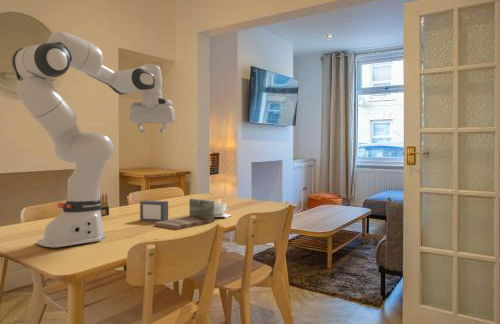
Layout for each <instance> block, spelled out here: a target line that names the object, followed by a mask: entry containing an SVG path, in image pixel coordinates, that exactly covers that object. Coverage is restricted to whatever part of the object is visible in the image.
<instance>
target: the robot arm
mask: <svg viewBox="0 0 500 324" xmlns="http://www.w3.org/2000/svg"><path fill="white" fill-rule="evenodd" d="M103 63H104V55H103V52H102V50H101V48H99V47H98V46H97V45H96V44H94V43H92V42H90V41H88V40H86V39H84V38H83V37H79V36H77V35H75V34H72V33H68V32H66V31H61V30H58V31H55V32H52V33H51V35H50V36H49V37H48V39H47V42H44V43H41V44H40V43H39V44H30V45H28V46H24V47H21V48H19V49H18V50H16V51H15V52H14V53H13V55H12V58H11V65H12V68H13V70H14V73H15V75H16V78H17V80H18V81H19V83H18V84H17V85H16V89H15V92H16V95H17V96H18V98H19V99H20V101H21V103H22V104H23V106H24V107H25V108H26V110H27V111H28V112H29V113H30V115H31V116H32V117H33V118H34V119H35V120H36V121H37V122H38V124H39V125H40V126H41V127H42V128H43V129H44V130H45V131H46V132H47V133H48V135H49V136H50V138H51V141H52V142H53V144H54V147H53V148H54V153H55V155H56V156H57V158H58V159H60V160H62V161H65V162H68V163H71V164H75V167H74V170H73V172H72V173H71V175H70V176H69V177H68V179H67V200H66V201H65V202H58V203H57V204H56V206H57V208H58V209H62V212H61V213H60V214H58V215H57V216H56V217H54V218H53V219H52V220H51V221H50V222H48V223H47V224H46V226H45V229H44V233H43V234H44V236H43V237H42V238H39V239H37V240H36V244H37V245H39V246H42V247H47V248H61V247H62V248H63V247H68V246H75V245H80V244H87V243H88V244H89V243H95V242H100V241H102V239H103V238H104V237H106V234H105V230H104V228H103V227H104V226H103V221H102V217H101V209H102V205H101V199H102V198H101V199H100V193H101V181H102V180H101V179H102V176H103V175H102V174H103V171H104V167H105V166H106V163H107V162H108V161H109V160H110V159H111V157H112V155H113V154H114V149H115V148H114V143H113V141H112V139H111V138H110V137H109V136H107V135H105V134H101V133H96V132H90V133H89V132H88V133H84V132H82V131H81V130H80V129H79V127H78V124H77V120H78V117H77V114H76V113H75V112H74V110H73V109H72V108H71V107H70V106H69V105H68V103H67V102H66V101H65V99H64V98H63V97H62V96H61V95H60V93H58V91H57V90H56V89H55V87H54V84H53V82H52V78H59V77H61V76H63V75H64V74H66V73H67V71H68V70H69V68H72V69H74V70H77V71H80V72H83V73H85V74H86V75H87V76H89V77H91V78H93V79H95V80H97V81H99V82H101V83H103V84H105V85H107V86H108V87H109V88H111V90H113V91H114V92H115V93H116V94H118V95H127V94H132V93H136V92H137V93H138V92H141V101H140V102H139V101H138V102H136V101H135V102H134V101H133V103H131V104H130V106H129V109H130V110H129V121H130V123H131V124H137V127H138V128H139V133H140V134H145V132H146V130H145V128H143V124H154V123H155V124H157V123H159V124H161V123H162V128H159V133H160V134H165V132H166V128H167V127H168V123H174V122H175V121H176V113H175V112H176V111H175V108H174V107H173V105H174V102H173V101H172V100H169V99H167V98H164V97H163V93H162V89H163V88H162V87H163V76H162V75H163V74H162V70H161V67H160V66H158V65H157V64H155V63H144V64H143V65H141V66H138V67H136V68H135V67H133V68H129V69H125V70H118V71H117V70H112V69H110V68H108V67H106V65H104V64H103Z"/></svg>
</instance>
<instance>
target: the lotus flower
mask: <svg viewBox="0 0 500 324" xmlns="http://www.w3.org/2000/svg"><path fill="white" fill-rule="evenodd" d="M227 207H228V203H227V202H225V203H223V204H222V200H221V199H220V198H219V199H218V200H217V202H214V218H228V217H231V216H232V214H228V213H226V212H227V211H229V210H230V208H231V207H228V208H227Z"/></svg>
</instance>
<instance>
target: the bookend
mask: <svg viewBox="0 0 500 324" xmlns="http://www.w3.org/2000/svg"><path fill="white" fill-rule="evenodd" d="M214 204H215V200H213V199H211V200H210V199H201V198H200V199H199V198H189V215H187V216H181V217H177V218H171V219H168V220H165V221H159V222H153V223H154V227H159V228H165V229H172V230H176V231H178V230H182V229H187V228H191V227H196V226H201V225H206V224H210V223H215V217H214Z"/></svg>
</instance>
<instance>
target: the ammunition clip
mask: <svg viewBox="0 0 500 324" xmlns="http://www.w3.org/2000/svg"><path fill="white" fill-rule="evenodd" d="M100 199H101V205H102V209H101V218H102V217H107V216H110V208H109V207H110V206H109V200H108V192H107V191H106V192H105V193H104V192H102V193H101V192H100Z"/></svg>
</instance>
